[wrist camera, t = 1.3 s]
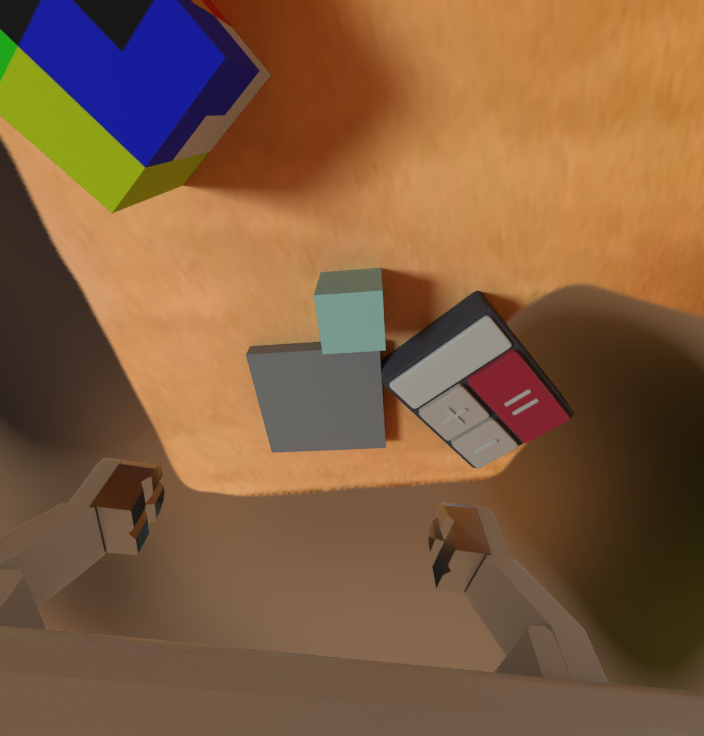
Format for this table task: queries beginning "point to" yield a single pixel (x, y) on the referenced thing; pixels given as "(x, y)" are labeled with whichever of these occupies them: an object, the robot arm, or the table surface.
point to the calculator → (474, 383)
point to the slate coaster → (318, 397)
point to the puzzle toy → (123, 88)
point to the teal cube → (350, 311)
